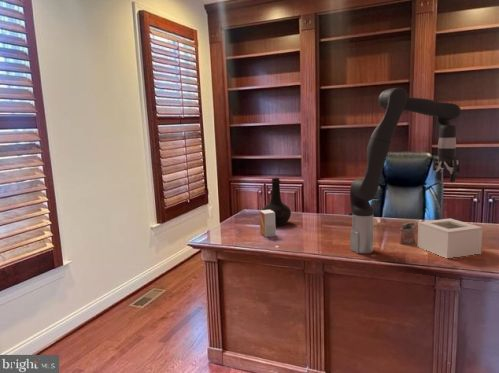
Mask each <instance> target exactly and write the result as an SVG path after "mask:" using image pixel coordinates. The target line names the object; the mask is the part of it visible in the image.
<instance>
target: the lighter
mask: <svg viewBox="0 0 499 373" xmlns="http://www.w3.org/2000/svg"><path fill="white" fill-rule="evenodd" d="M416 228H417V227H415V222H405V223H402V227H400V228H399V231H400V234H399V235H400V236H399V244H400V245H412V244H411V243H413V244H416Z"/></svg>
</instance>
